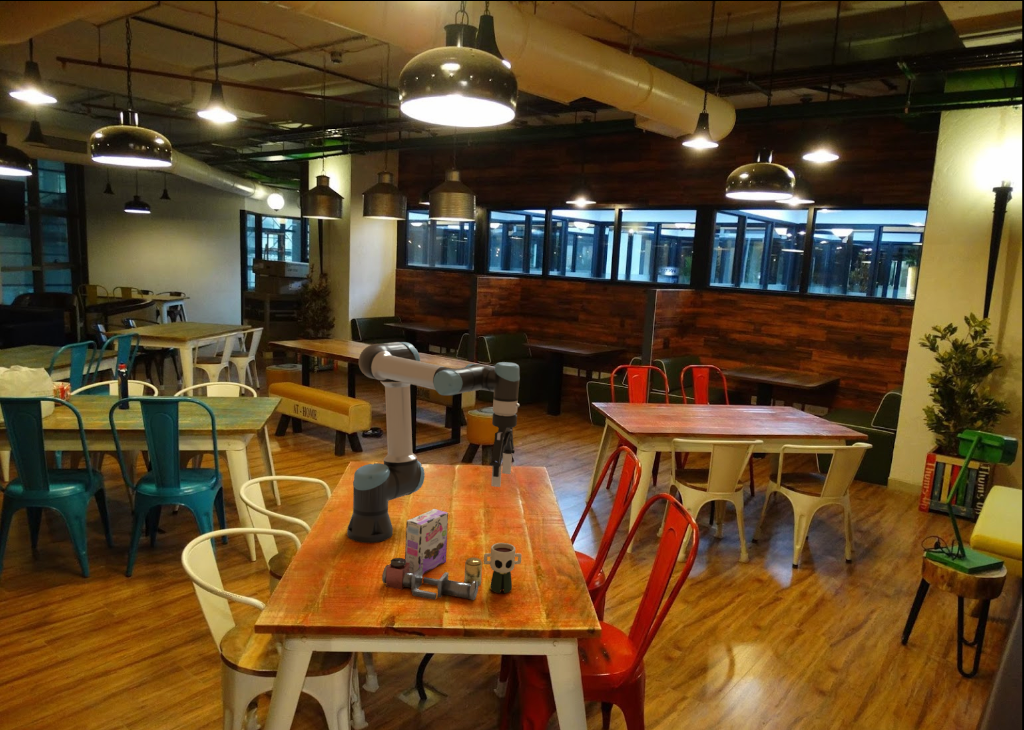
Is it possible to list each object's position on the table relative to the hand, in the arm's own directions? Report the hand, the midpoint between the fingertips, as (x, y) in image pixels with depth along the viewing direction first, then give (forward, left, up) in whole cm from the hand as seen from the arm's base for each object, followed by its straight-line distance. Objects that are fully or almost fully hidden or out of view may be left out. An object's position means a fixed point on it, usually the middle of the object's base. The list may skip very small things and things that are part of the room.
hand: (501, 479), depth 217 cm
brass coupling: (-2, -16, -27) cm, 32 cm away
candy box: (-19, -11, -27) cm, 36 cm away
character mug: (+7, -17, -27) cm, 33 cm away
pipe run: (-12, -25, -27) cm, 39 cm away
